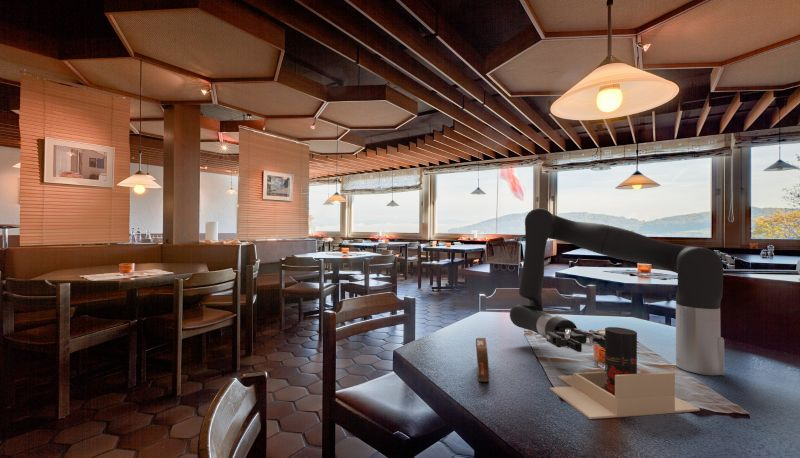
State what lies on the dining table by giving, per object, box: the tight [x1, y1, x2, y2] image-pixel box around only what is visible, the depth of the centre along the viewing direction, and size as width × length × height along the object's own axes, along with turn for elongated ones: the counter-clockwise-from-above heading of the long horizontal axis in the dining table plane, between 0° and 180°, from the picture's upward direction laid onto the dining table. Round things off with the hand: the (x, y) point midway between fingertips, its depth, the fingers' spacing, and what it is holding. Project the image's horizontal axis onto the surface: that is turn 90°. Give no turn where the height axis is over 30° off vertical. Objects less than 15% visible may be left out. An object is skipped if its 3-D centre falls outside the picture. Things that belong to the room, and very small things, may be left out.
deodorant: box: [604, 326, 638, 396], centre depth 76 cm, size 6×6×15 cm
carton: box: [549, 370, 701, 420], centre depth 79 cm, size 19×25×8 cm
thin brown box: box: [475, 337, 490, 383], centre depth 89 cm, size 15×3×8 cm, turn 168°
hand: (596, 347), depth 83 cm, fingers open, 8 cm apart
